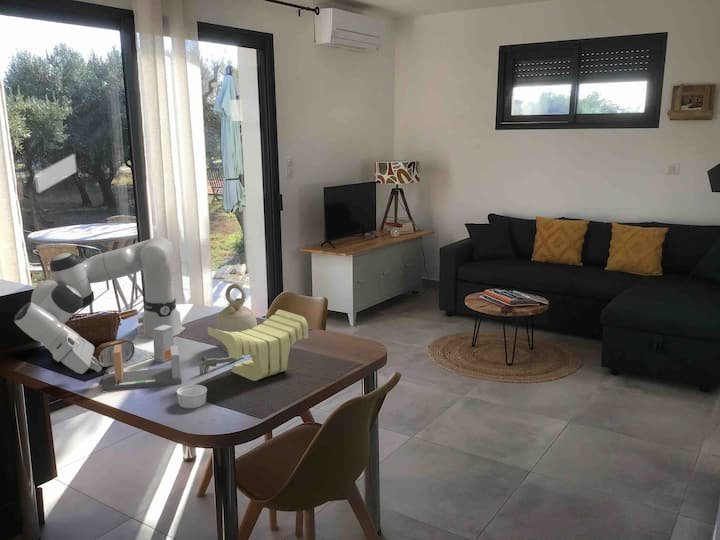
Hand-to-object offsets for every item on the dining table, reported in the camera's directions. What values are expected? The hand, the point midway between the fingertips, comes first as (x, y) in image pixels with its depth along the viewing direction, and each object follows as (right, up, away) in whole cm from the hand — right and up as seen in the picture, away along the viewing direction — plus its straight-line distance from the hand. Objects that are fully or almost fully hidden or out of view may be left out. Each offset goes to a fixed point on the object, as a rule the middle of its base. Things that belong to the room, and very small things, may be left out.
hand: (101, 369), depth 199 cm
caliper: (+35, -2, +19) cm, 40 cm away
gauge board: (+12, -5, +5) cm, 13 cm away
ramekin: (+33, -9, -12) cm, 36 cm away
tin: (-3, -2, +20) cm, 20 cm away
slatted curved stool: (+49, -3, +14) cm, 51 cm away
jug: (+36, +2, +38) cm, 53 cm away
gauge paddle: (+5, -3, +1) cm, 6 cm away
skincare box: (+12, -1, +25) cm, 28 cm away
